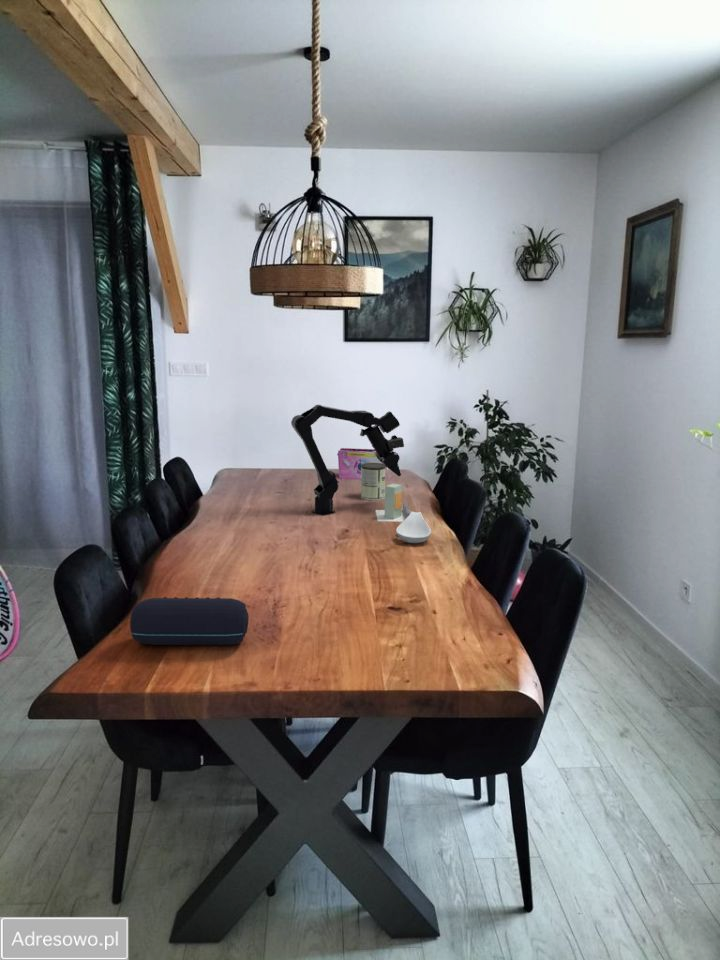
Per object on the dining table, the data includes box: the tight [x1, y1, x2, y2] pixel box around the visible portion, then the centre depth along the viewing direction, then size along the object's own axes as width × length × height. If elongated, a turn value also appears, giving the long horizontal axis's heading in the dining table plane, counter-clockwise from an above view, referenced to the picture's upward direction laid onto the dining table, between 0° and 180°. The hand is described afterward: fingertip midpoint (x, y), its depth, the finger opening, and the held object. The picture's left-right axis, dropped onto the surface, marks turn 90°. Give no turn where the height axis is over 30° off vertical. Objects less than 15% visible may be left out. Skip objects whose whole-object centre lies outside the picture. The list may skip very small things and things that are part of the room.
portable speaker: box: [129, 596, 250, 646], centre depth 145 cm, size 25×10×10 cm, turn 92°
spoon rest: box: [395, 511, 432, 544], centre depth 227 cm, size 24×12×7 cm, turn 173°
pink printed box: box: [336, 447, 388, 481], centre depth 319 cm, size 24×8×14 cm, turn 85°
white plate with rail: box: [375, 502, 411, 523], centre depth 250 cm, size 16×12×4 cm
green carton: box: [384, 483, 403, 519], centre depth 247 cm, size 6×4×12 cm
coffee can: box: [360, 463, 386, 501], centre depth 279 cm, size 10×10×14 cm
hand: (397, 473), depth 260 cm, fingers open, 9 cm apart
